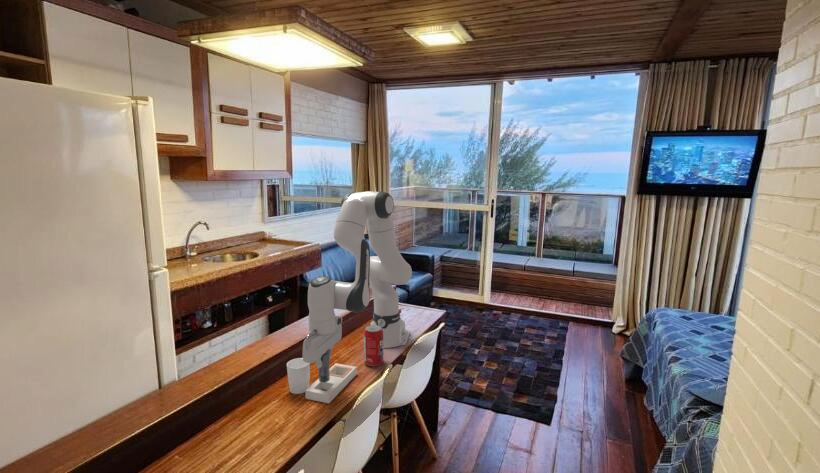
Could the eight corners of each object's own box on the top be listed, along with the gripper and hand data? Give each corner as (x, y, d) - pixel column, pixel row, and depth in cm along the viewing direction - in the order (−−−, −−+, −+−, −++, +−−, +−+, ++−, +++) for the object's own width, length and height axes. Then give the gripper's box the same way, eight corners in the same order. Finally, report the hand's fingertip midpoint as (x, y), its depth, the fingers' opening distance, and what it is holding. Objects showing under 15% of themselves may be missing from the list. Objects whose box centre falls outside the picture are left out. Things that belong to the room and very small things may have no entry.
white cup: (315, 385, 148) (314, 359, 146) (302, 397, 140) (301, 369, 139) (296, 381, 150) (295, 356, 148) (283, 392, 143) (281, 366, 141)
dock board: (335, 370, 159) (335, 362, 158) (356, 374, 156) (356, 366, 155) (305, 398, 139) (305, 389, 139) (328, 403, 136) (328, 394, 136)
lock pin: (322, 375, 144) (321, 345, 142) (333, 377, 143) (332, 347, 141) (315, 381, 140) (314, 351, 138) (326, 383, 139) (325, 353, 137)
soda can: (360, 363, 165) (359, 328, 162) (374, 356, 170) (374, 322, 168) (373, 369, 160) (372, 333, 157) (387, 363, 165) (387, 327, 163)
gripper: (313, 338, 127) (315, 379, 130) (344, 315, 146) (345, 351, 149) (296, 335, 129) (298, 376, 132) (329, 313, 148) (330, 349, 151)
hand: (323, 363), depth 140 cm, fingers closed on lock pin, 4 cm apart
